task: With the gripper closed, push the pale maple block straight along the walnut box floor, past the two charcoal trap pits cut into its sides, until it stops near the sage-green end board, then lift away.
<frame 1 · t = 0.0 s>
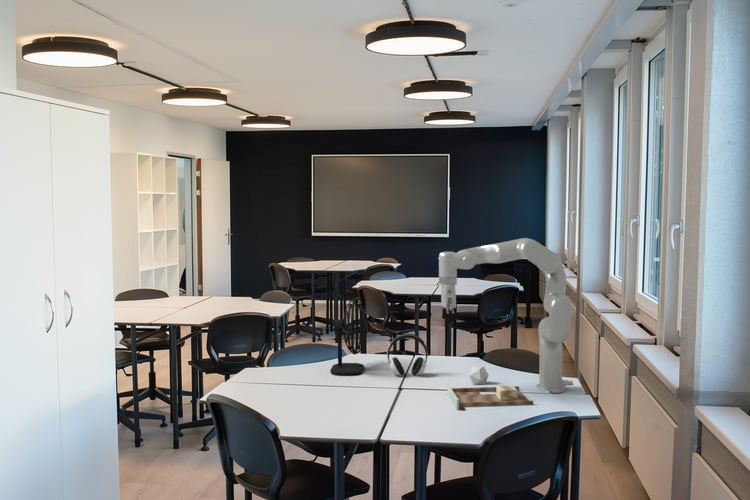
hand: (447, 320, 300), 31 cm above the table, tool pointing down, fingers open, 9 cm apart
trap pits: (487, 400, 289), on the table
headphones: (407, 376, 331), on the table
block: (506, 397, 290), point 1 cm above the table, touching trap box
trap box: (487, 400, 289), on the table
die: (478, 384, 315), on the table
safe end: (452, 401, 288), on the table
desk fan: (349, 371, 341), on the table
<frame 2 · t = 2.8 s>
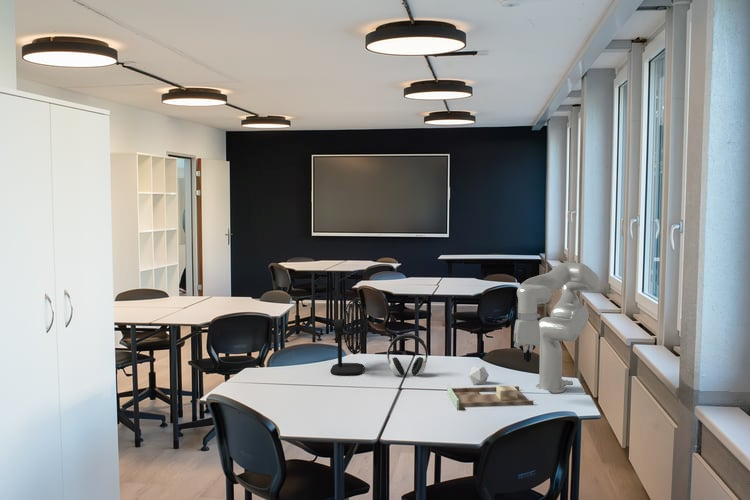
hand: (526, 361, 289), 16 cm above the table, tool pointing down, fingers closed
nothing on the table moved.
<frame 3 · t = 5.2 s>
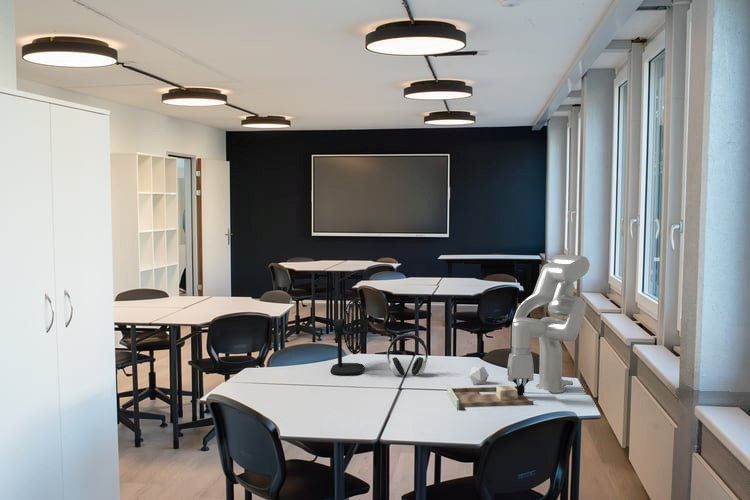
hand: (520, 394, 290), 2 cm above the table, tool pointing down, fingers closed
block: (506, 397, 290), point 1 cm above the table, touching gripper, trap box
everything else where it was.
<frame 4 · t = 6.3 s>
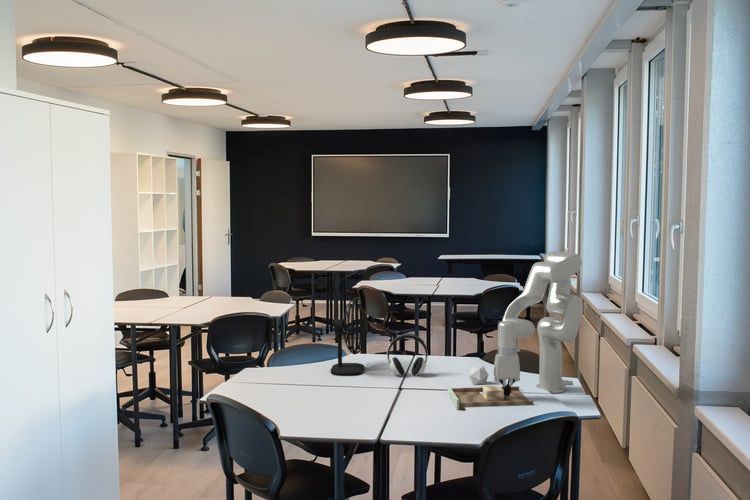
hand: (506, 395, 290), 2 cm above the table, tool pointing down, fingers closed
block: (493, 397, 290), point 1 cm above the table, touching gripper
everything else where it was.
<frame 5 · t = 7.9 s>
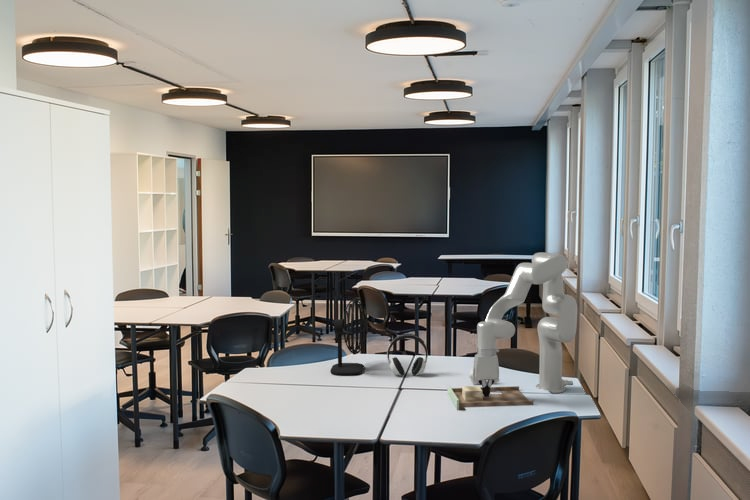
hand: (486, 395, 289), 2 cm above the table, tool pointing down, fingers closed
block: (472, 398, 289), point 1 cm above the table, touching gripper
everything else where it was.
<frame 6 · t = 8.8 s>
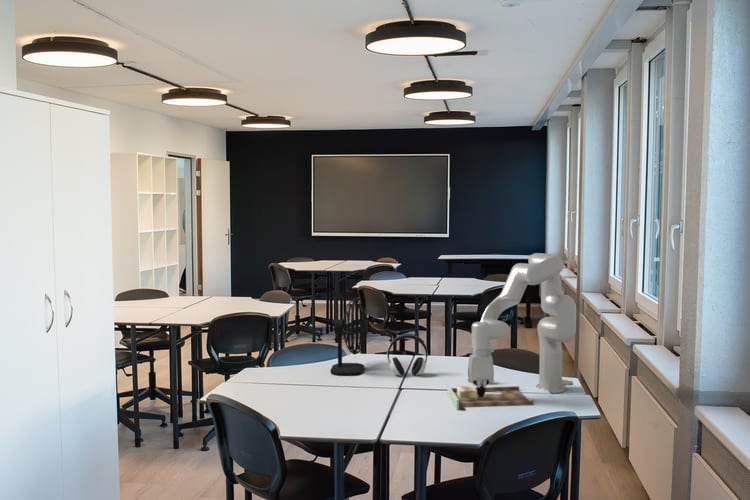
hand: (481, 396, 289), 2 cm above the table, tool pointing down, fingers closed
block: (466, 398, 289), point 1 cm above the table, touching gripper, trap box
everything else where it was.
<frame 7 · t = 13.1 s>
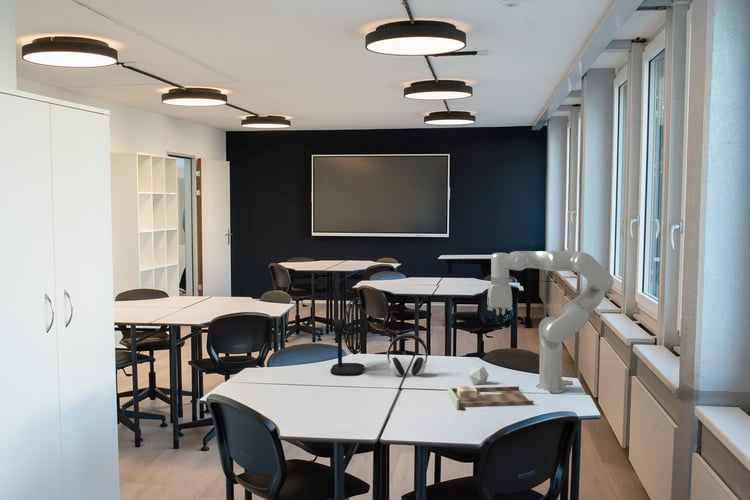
hand: (499, 323, 304), 29 cm above the table, tool pointing down, fingers closed
block: (466, 398, 289), point 1 cm above the table, touching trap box
everything else where it was.
at the end: block inside the target area (1.1 cm from its centre), point 1.2 cm above the table; block tilted 0°; block moved 16.5 cm from its start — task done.
